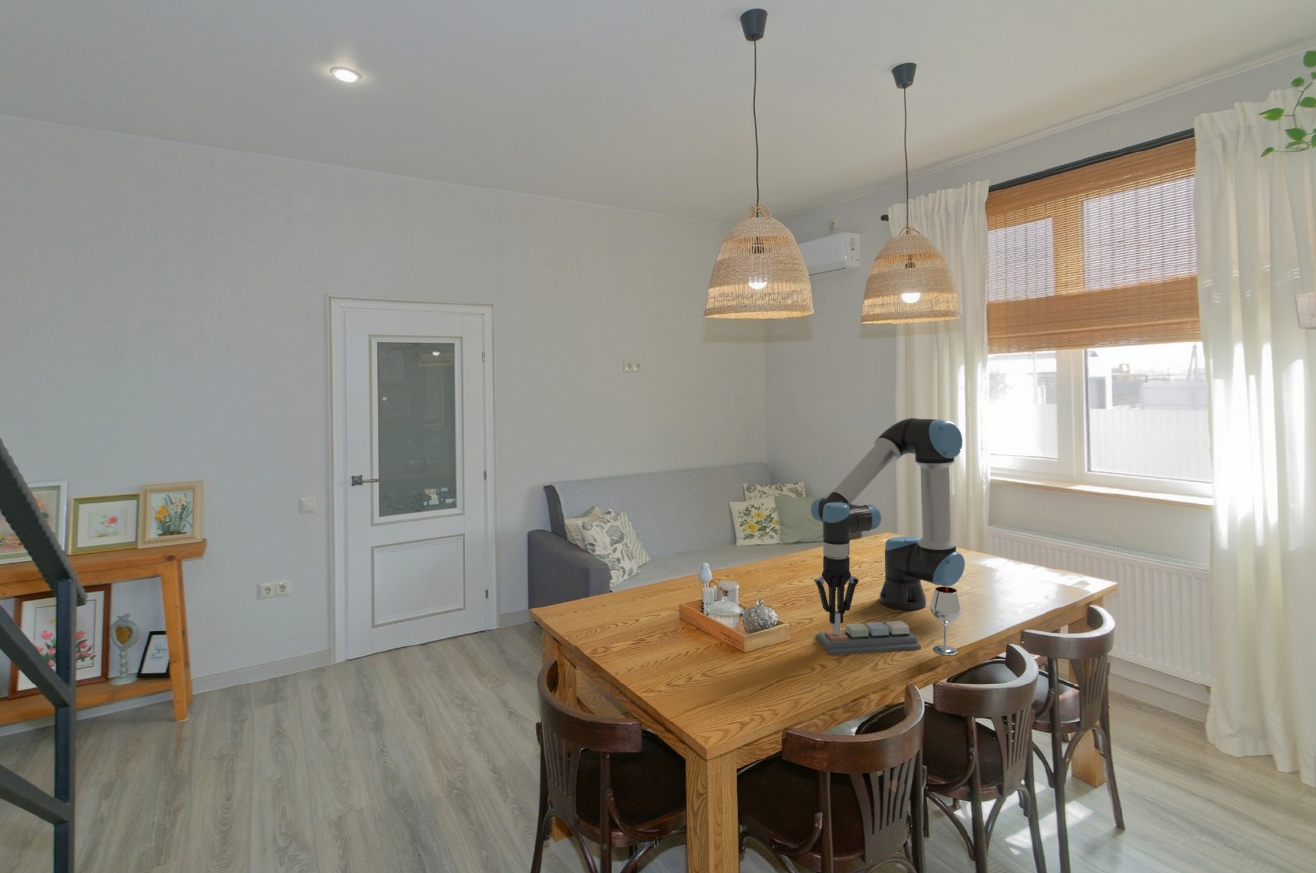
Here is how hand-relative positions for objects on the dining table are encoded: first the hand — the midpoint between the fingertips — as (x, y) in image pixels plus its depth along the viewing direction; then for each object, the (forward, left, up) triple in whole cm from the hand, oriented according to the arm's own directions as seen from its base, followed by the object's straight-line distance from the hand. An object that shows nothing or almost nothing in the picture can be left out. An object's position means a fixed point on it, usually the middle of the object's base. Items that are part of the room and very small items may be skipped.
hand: (836, 633), depth 199 cm
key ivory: (-13, +13, 0) cm, 19 cm away
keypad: (-7, +7, -4) cm, 10 cm away
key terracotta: (0, 0, -2) cm, 2 cm away
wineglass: (-15, +27, -4) cm, 31 cm away
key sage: (-5, +4, 0) cm, 6 cm away
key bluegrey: (-9, +9, 0) cm, 12 cm away
